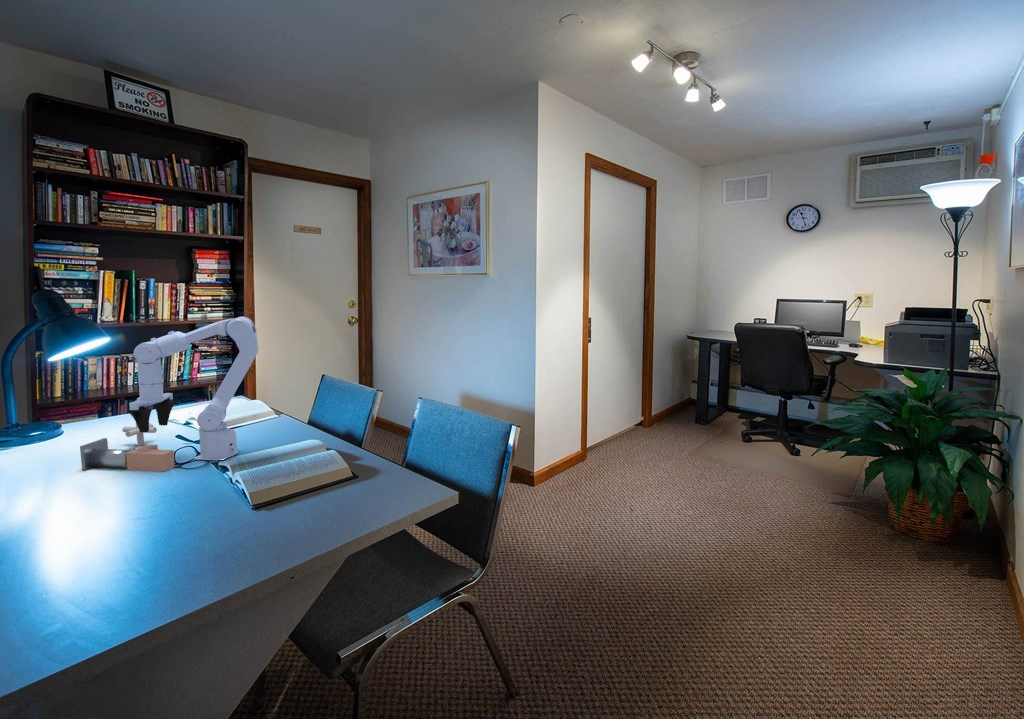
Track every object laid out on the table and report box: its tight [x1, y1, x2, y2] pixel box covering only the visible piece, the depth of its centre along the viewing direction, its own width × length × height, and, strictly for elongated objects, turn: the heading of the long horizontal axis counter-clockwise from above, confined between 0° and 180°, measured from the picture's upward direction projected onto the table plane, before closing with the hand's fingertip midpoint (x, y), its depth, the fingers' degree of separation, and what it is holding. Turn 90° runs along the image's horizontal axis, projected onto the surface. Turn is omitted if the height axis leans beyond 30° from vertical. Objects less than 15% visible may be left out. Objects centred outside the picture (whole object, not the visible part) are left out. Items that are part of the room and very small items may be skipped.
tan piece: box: [126, 444, 176, 472], centre depth 150 cm, size 11×8×5 cm
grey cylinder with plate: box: [79, 437, 133, 472], centre depth 149 cm, size 11×8×7 cm
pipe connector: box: [121, 422, 158, 447], centre depth 169 cm, size 10×10×10 cm
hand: (154, 428), depth 154 cm, fingers open, 7 cm apart
